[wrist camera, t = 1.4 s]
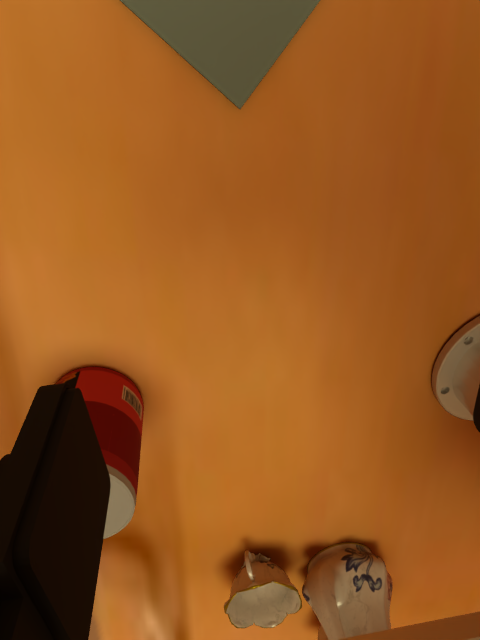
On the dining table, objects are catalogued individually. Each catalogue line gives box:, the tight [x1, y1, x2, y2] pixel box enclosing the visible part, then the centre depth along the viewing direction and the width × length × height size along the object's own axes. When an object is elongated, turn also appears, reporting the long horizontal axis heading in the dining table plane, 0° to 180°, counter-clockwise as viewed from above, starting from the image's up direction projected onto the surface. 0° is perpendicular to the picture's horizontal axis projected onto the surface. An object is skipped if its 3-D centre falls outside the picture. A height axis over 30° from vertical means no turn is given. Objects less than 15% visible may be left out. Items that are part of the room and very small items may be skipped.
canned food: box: [56, 367, 144, 539], centre depth 34 cm, size 8×8×11 cm
